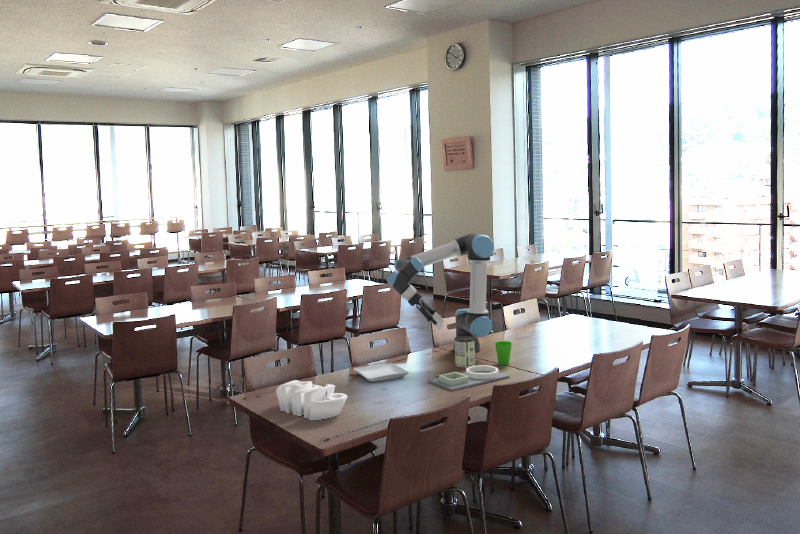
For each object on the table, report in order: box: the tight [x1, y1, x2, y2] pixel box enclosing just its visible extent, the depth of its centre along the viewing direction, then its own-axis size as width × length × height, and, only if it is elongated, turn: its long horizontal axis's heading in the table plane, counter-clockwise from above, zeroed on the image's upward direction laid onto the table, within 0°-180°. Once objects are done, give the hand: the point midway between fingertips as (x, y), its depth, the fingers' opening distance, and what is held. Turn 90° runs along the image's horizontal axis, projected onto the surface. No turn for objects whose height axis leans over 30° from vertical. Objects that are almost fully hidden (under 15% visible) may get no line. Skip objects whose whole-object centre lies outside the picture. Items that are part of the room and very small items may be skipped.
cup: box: [494, 340, 513, 366], centre depth 340 cm, size 9×9×11 cm
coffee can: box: [454, 336, 476, 368], centre depth 341 cm, size 10×10×14 cm
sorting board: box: [428, 364, 510, 392], centre depth 315 cm, size 18×34×4 cm, turn 123°
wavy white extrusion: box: [275, 379, 348, 421], centre depth 277 cm, size 35×16×10 cm, turn 46°
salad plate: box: [353, 362, 410, 383], centre depth 326 cm, size 21×21×3 cm
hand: (442, 325), depth 340 cm, fingers open, 13 cm apart
